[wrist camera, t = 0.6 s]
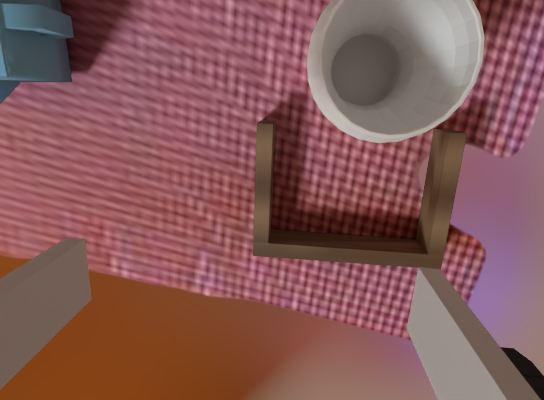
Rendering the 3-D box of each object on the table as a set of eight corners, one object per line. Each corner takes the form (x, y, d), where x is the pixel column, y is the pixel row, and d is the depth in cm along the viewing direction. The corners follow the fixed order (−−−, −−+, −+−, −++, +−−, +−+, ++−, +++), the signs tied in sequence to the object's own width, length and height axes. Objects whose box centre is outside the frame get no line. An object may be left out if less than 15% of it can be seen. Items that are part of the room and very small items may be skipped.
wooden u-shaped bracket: (261, 120, 37) (256, 123, 33) (449, 129, 36) (466, 133, 32) (257, 240, 41) (253, 255, 37) (427, 252, 40) (440, 269, 36)
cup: (433, 35, 34) (532, -12, 19) (388, 142, 37) (444, 170, 22) (327, -2, 34) (347, -77, 19) (290, 108, 37) (283, 115, 22)
